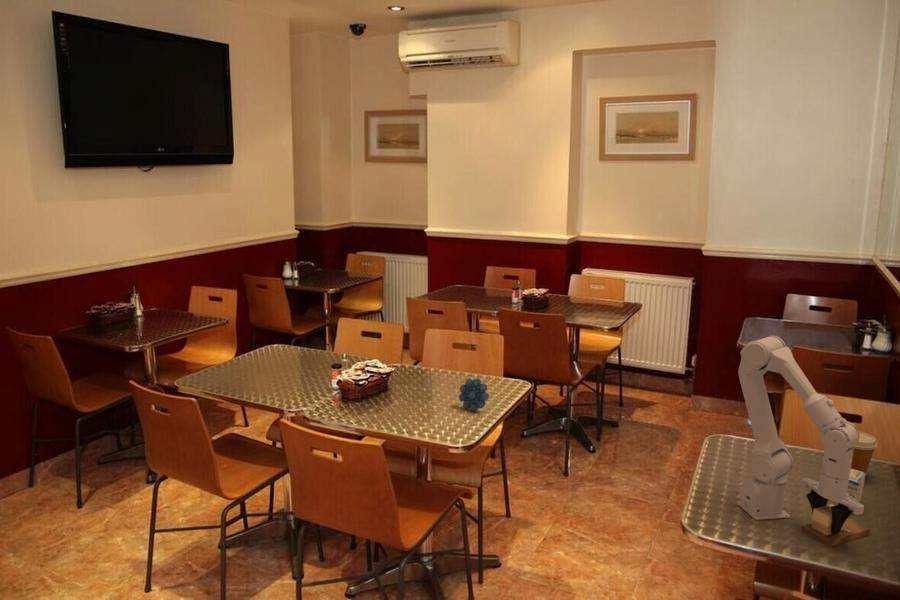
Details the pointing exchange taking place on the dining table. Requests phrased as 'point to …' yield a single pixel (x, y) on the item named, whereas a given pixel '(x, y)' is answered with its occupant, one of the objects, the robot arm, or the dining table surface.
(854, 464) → the disposable coffee cup
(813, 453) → the dining table surface
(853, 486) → the medicine box
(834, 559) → the dining table surface
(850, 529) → the walnut board
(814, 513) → the sanding block
